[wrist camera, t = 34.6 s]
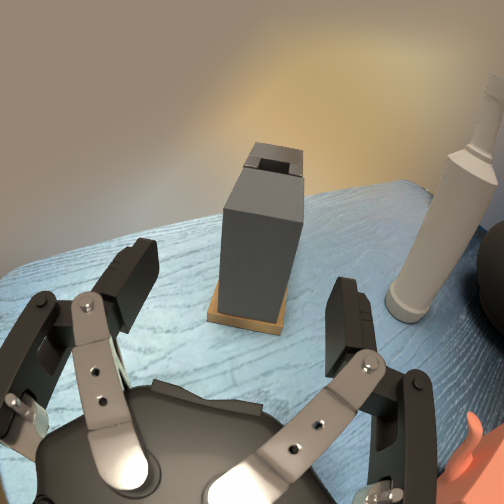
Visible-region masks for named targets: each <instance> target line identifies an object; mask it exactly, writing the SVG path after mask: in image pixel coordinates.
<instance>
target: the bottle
mask: <svg viewBox="0 0 504 504" xmlns="http://www.w3.org/2000/svg"><path fill="white" fill-rule="evenodd" d="M503 112H504V79H502V78H500V77H498V76H496V75H493V74H489V77H488V81H487V86H486V90H485V97H484V101H483V105H482V109H481V113H480V116H479V119H478V123H477V126H476V129H475V133H474V136H473V139H472V142H471V143H470V144H467V145H466V148H465V149H463V150H461V151H458V152H455V153H452V154H449V155H448V157H447V160H446V163H445V167H444V170H443V172H442V175H441V178H440V181H439V184H438V186H437V189H436V192H435V194H434V197H433V199H432V202H431V205H430V207H429V210H428V212H427V214H426V217H425V219H424V222H423V224H422V226H421V229H420V231H419V233H418V235H417V238H416V240H415V242H414V244H413V247H412V249H411V251H410V253H409V255H408V257H407V259H406V261H405V263H404V265H403V267H402V269H401V271H400V273H399V275H398V277H397V279H396V280H395V281H393V282H392V283H391V285H390V287H389V290H388V292H387V295H386V299H385V301H386V306H387V308H388V310H389V312H390V313H391V314H392V315H393V316H394V317H395V318H397V319H399V320H400V321H402V322H406V323H414V322H417V321H419V320H420V319H421V318H422V317H423V316H424V315H425V314H426V313H427V311H428V310H429V309H430V304H431V302H432V300H433V299H434V297H435V296H436V294H437V293H438V292H439V290H440V289H441V287H442V286H443V284H444V283H445V281H446V280H447V278H448V276H449V275H450V273H451V272H452V270H453V269H454V267H455V265H456V264H457V262H458V261H459V259H460V257H461V256H462V254H463V252H464V250H465V249H466V247H467V245H468V244H469V242H470V240H471V238H472V236H473V235H474V233H475V231H476V229H477V227H478V225H479V223H480V221H481V219H482V217H483V216H484V214H485V211H486V210H487V207H488V205H489V203H490V201H491V199H492V197H493V195H494V192H495V190H496V188H497V186H498V183H497V179H496V176H495V173H494V170H493V167H492V165H491V164H492V161H493V159H492V157H491V152H492V149H493V146H494V143H495V140H496V136H497V133H498V130H499V126H500V123H501V119H502V116H503Z"/></svg>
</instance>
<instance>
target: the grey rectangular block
mask: <svg viewBox="0 0 504 504" xmlns="http://www.w3.org/2000/svg"><path fill="white" fill-rule="evenodd" d="M303 220H304V178H301V177H296V176H291V175H285V174H280V173H275V172H269V171H263V170H257V169H252V168H245V167H244V168H243V170H242V172H241V174H240V176H239V178H238V180H237V182H236V184H235V186H234V188H233V190H232V192H231V194H230V196H229V198H228V200H227V202H226V204H225V206H224V209H223V223H222V237H221V253H220V270H219V288H218V308H217V312H219V313H224V314H229V315H233V316H238V317H243V318H248V319H253V320H258V321H264V322H269V323H274V324H276V323H277V319H278V316H279V312H280V309H281V305H282V302H283V298H284V295H285V291H286V287H287V284H288V280H289V276H290V273H291V269H292V265H293V261H294V258H295V254H296V250H297V246H298V242H299V238H300V235H301V231H302V227H303Z"/></svg>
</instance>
